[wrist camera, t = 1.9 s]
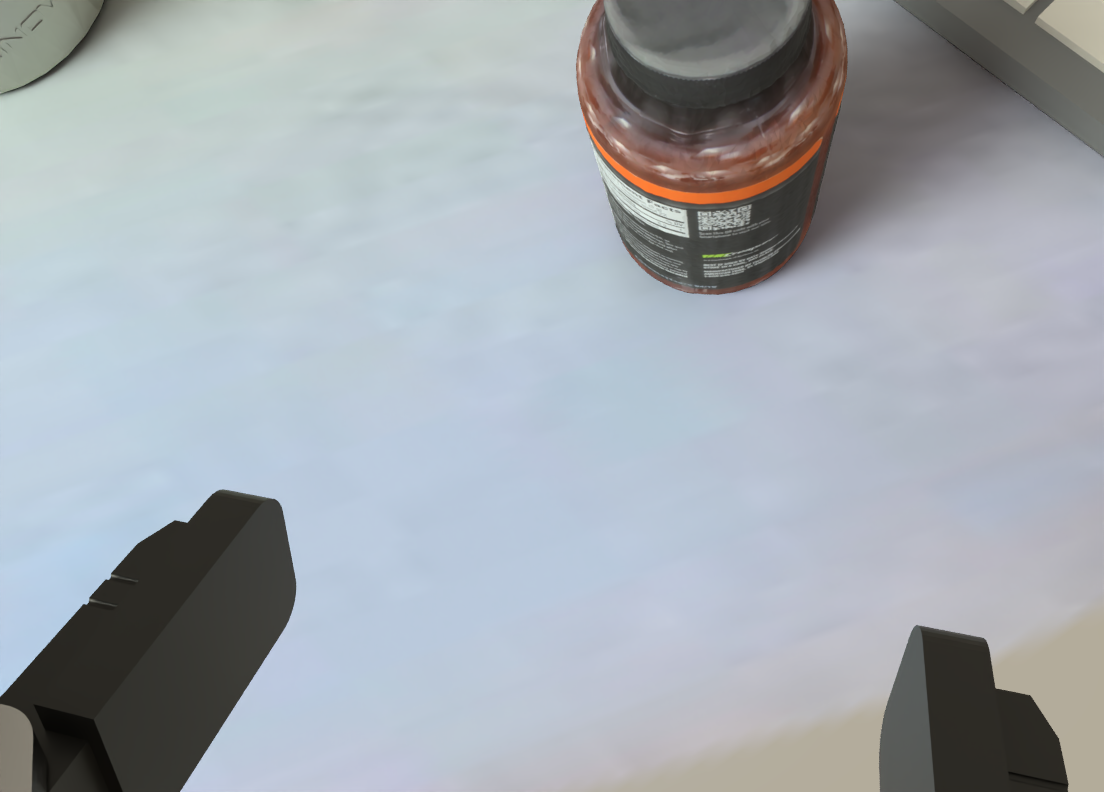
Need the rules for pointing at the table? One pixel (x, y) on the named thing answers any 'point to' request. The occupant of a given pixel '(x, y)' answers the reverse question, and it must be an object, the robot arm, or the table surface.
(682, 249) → the supplement bottle
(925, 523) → the table surface
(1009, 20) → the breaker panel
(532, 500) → the table surface
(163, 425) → the table surface
